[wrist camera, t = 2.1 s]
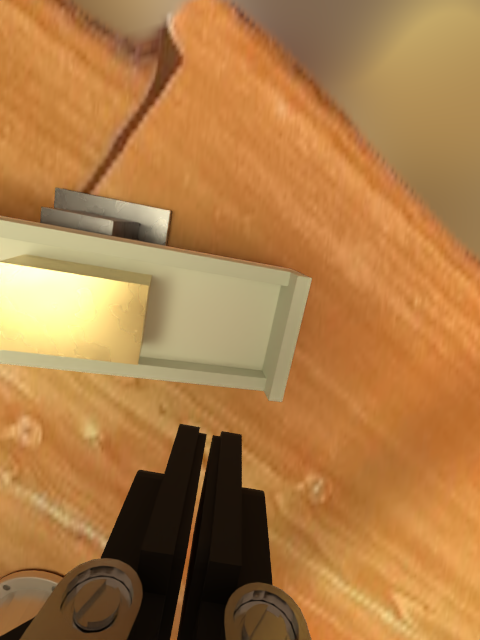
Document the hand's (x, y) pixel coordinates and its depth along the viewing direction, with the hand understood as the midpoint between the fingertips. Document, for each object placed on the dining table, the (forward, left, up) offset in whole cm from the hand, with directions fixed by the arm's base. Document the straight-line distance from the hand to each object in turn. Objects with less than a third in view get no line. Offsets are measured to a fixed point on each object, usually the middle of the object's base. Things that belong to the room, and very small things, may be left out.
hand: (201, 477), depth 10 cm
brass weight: (+6, +8, -16) cm, 19 cm away
